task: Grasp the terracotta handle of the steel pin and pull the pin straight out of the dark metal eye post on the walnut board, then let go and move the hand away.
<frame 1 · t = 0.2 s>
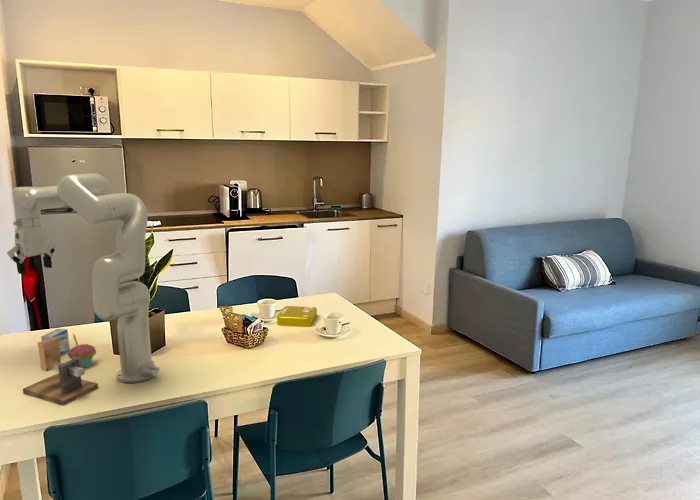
hand: (35, 270, 181), 31 cm above the table, tool pointing down, fingers open, 9 cm apart
cupcake: (83, 365, 178), on the table
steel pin: (63, 357, 156), point 11 cm above the table, slide at 0.0 cm
medicine box: (57, 355, 186), on the table
eye board: (61, 390, 159), on the table
element tile: (297, 321, 222), on the table
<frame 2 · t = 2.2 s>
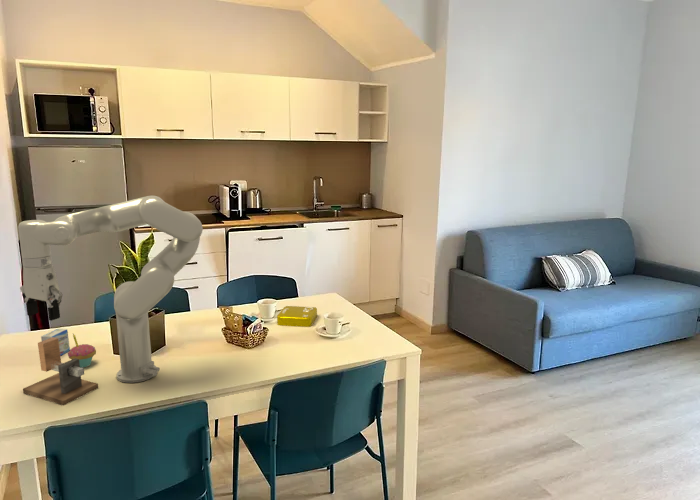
hand: (43, 316, 155), 24 cm above the table, tool pointing down, fingers open, 9 cm apart
nothing on the table moved.
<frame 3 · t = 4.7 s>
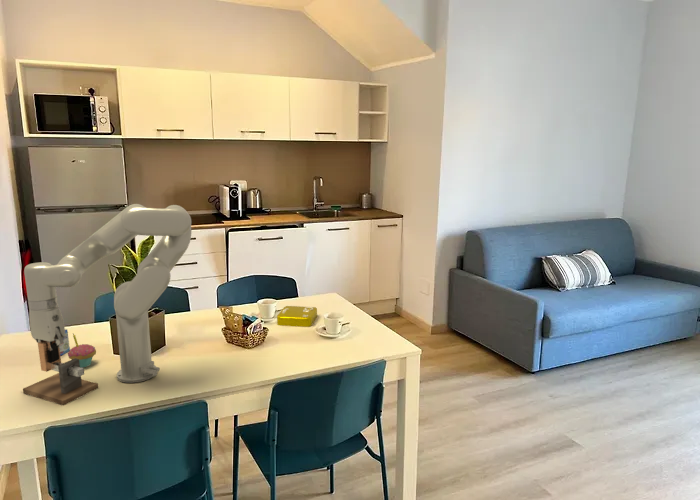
hand: (50, 359, 159), 10 cm above the table, tool pointing down, fingers closed on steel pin, 2 cm apart
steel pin: (63, 357, 156), point 12 cm above the table, slide at 0.0 cm, touching gripper
everything else where it was.
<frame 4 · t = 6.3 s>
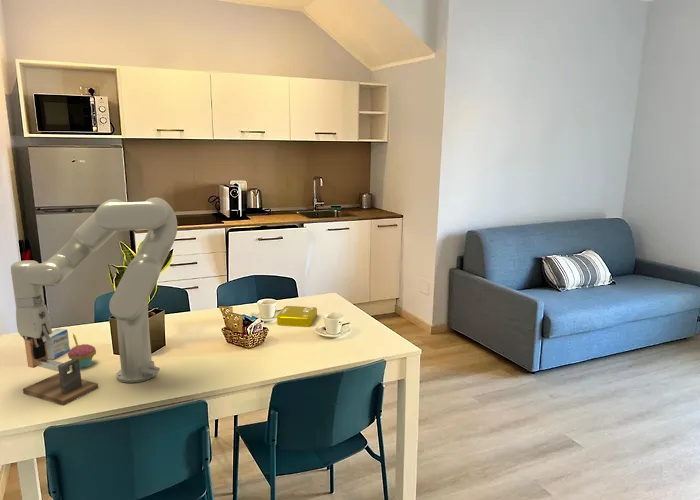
hand: (37, 356, 161), 10 cm above the table, tool pointing down, fingers closed on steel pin, 2 cm apart
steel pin: (49, 354, 158), point 11 cm above the table, slide at 6.2 cm, touching gripper
everything else where it was.
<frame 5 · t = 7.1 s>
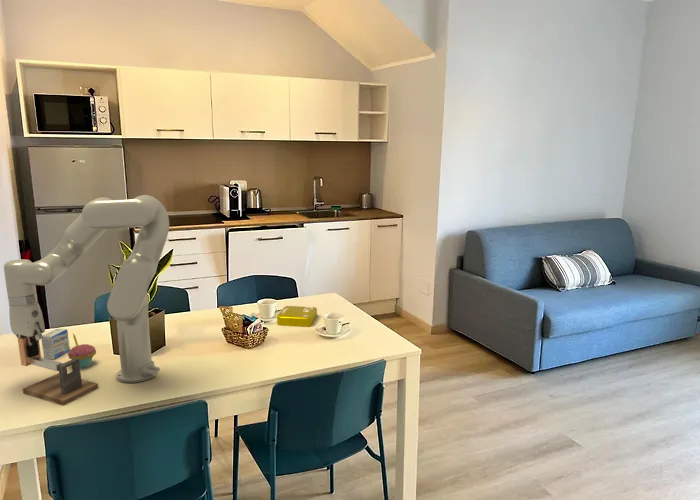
hand: (30, 354, 162), 10 cm above the table, tool pointing down, fingers closed on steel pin, 2 cm apart
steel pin: (42, 352, 159), point 12 cm above the table, slide at 9.4 cm, touching gripper
everything else where it was.
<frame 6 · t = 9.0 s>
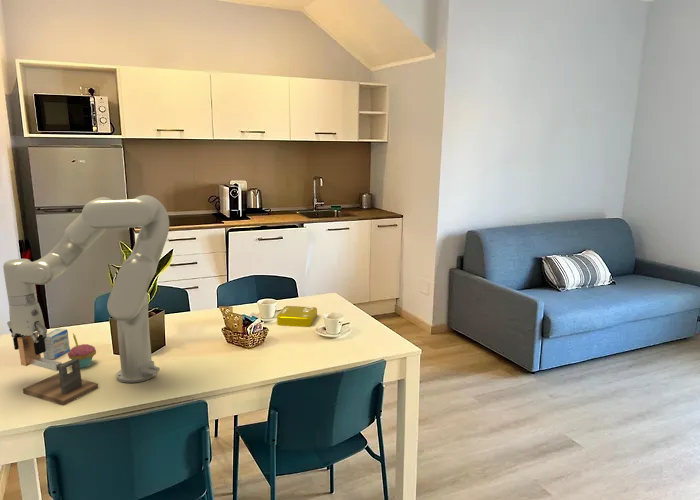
hand: (30, 350, 162), 11 cm above the table, tool pointing down, fingers open, 9 cm apart
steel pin: (42, 352, 160), point 11 cm above the table, slide at 9.5 cm
everything else where it was.
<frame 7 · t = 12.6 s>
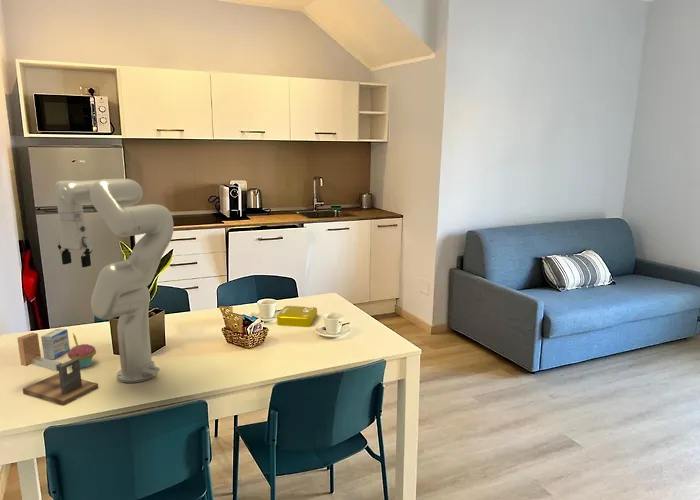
hand: (76, 265, 180), 33 cm above the table, tool pointing down, fingers open, 9 cm apart
nothing on the table moved.
at the end: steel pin slide at 9.5 cm; the gripper is holding nothing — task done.
